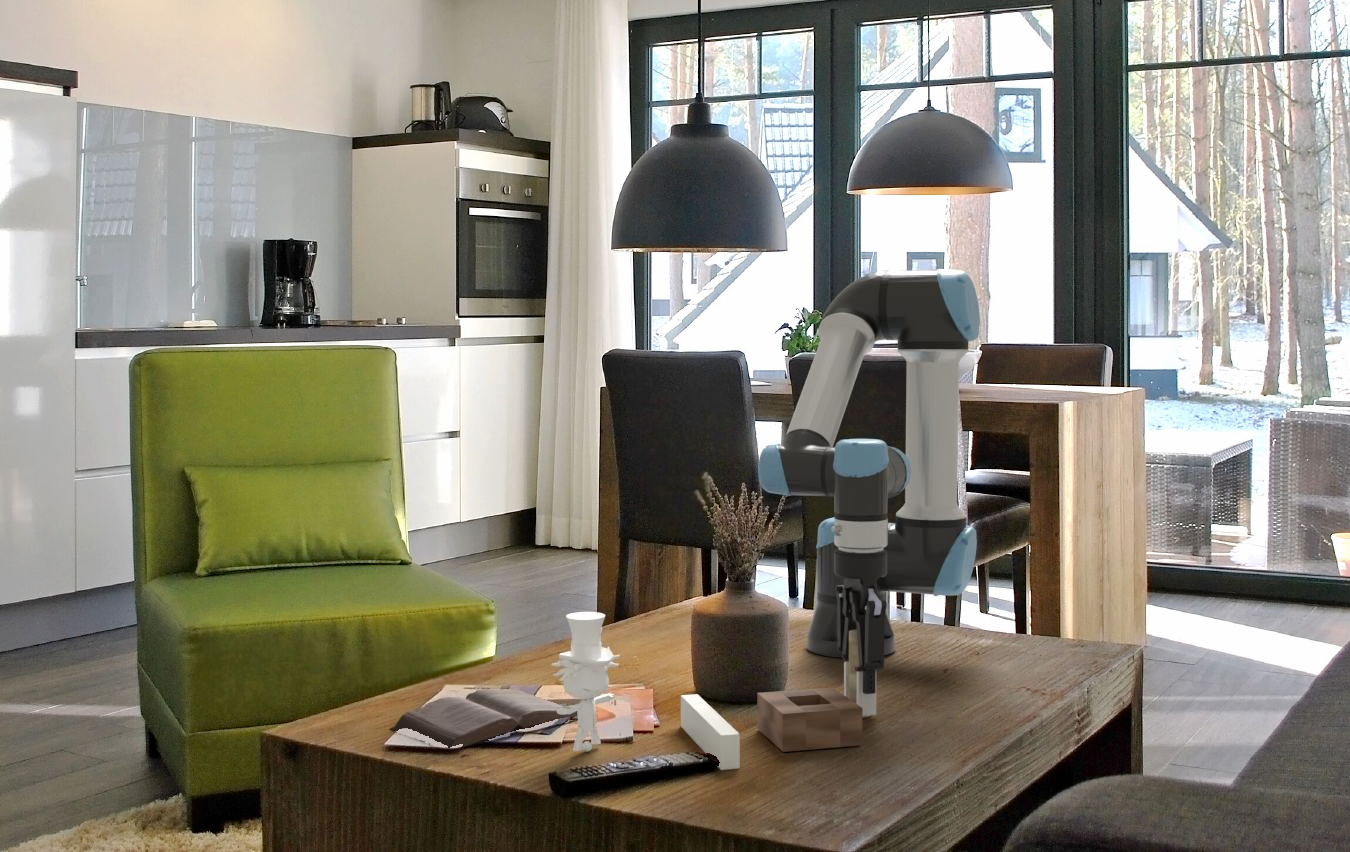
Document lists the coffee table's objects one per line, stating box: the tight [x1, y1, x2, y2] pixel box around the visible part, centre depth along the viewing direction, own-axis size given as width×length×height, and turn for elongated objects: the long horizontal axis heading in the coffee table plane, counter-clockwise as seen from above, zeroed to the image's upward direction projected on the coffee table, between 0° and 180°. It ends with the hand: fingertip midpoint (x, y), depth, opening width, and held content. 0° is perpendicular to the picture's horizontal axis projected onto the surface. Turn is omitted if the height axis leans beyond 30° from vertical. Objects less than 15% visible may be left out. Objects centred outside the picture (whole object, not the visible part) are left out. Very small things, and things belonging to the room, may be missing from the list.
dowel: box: [849, 630, 872, 719], centre depth 200 cm, size 3×3×12 cm
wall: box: [680, 693, 741, 771], centre depth 186 cm, size 20×2×4 cm, turn 14°
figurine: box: [551, 611, 621, 753], centre depth 183 cm, size 10×8×18 cm
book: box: [389, 688, 578, 748], centre depth 198 cm, size 20×28×4 cm
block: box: [756, 686, 863, 753], centre depth 189 cm, size 11×11×5 cm
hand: (859, 710), depth 201 cm, fingers open, 4 cm apart
